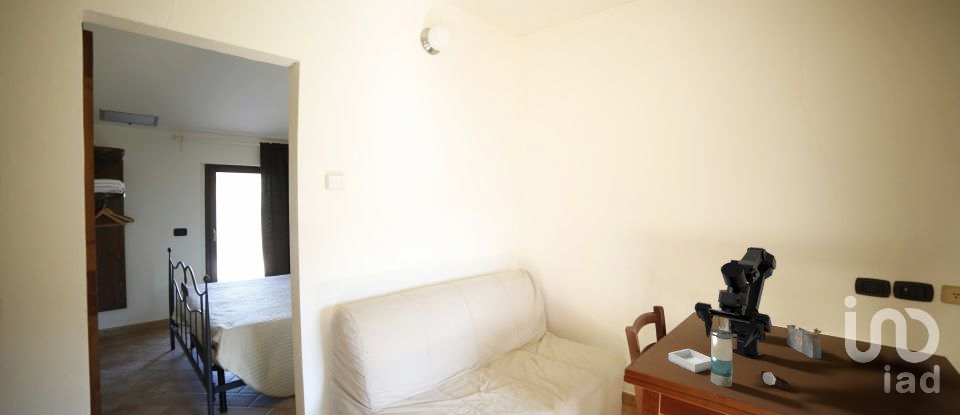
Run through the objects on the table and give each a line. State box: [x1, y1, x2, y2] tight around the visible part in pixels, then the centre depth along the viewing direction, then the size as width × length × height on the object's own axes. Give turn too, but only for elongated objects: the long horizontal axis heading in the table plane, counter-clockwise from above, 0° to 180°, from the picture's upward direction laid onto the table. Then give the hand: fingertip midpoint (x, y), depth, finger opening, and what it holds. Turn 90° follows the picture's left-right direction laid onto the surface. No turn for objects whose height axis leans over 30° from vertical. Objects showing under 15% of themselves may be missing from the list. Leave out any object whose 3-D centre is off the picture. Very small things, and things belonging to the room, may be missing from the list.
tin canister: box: [710, 329, 734, 388], centre depth 105 cm, size 5×5×14 cm
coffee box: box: [718, 289, 737, 338], centre depth 144 cm, size 9×6×16 cm
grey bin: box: [668, 348, 711, 374], centre depth 117 cm, size 9×9×2 cm
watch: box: [760, 370, 790, 390], centre depth 104 cm, size 8×5×4 cm, turn 6°
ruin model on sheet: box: [786, 324, 823, 360], centre depth 127 cm, size 11×3×10 cm, turn 176°
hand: (725, 341), depth 107 cm, fingers open, 9 cm apart
